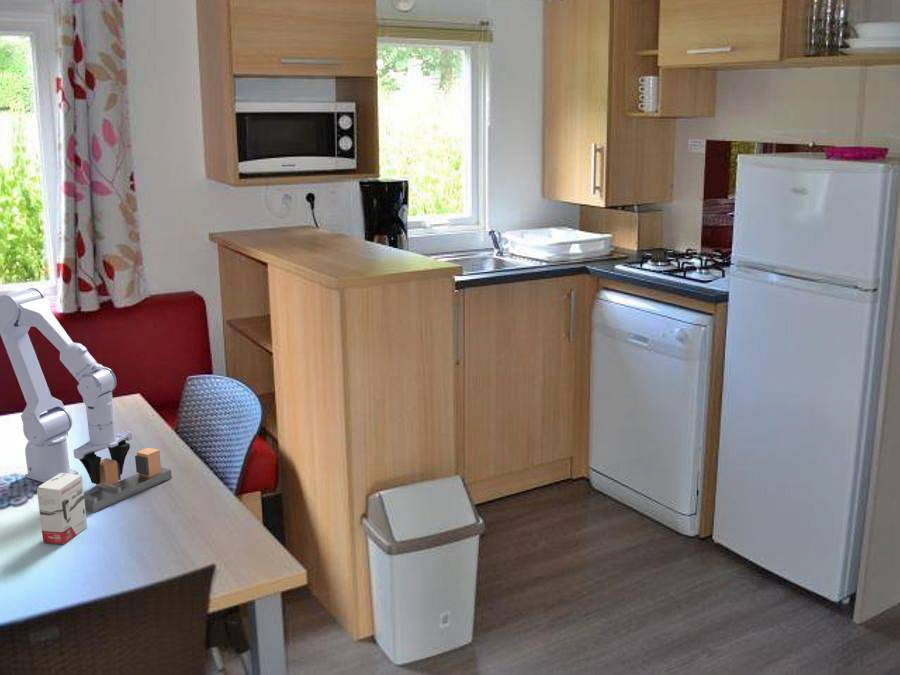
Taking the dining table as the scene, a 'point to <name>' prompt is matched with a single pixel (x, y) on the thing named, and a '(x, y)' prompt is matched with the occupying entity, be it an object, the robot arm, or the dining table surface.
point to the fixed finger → (148, 462)
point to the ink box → (62, 508)
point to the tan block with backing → (109, 472)
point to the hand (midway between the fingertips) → (107, 478)
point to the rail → (123, 490)
